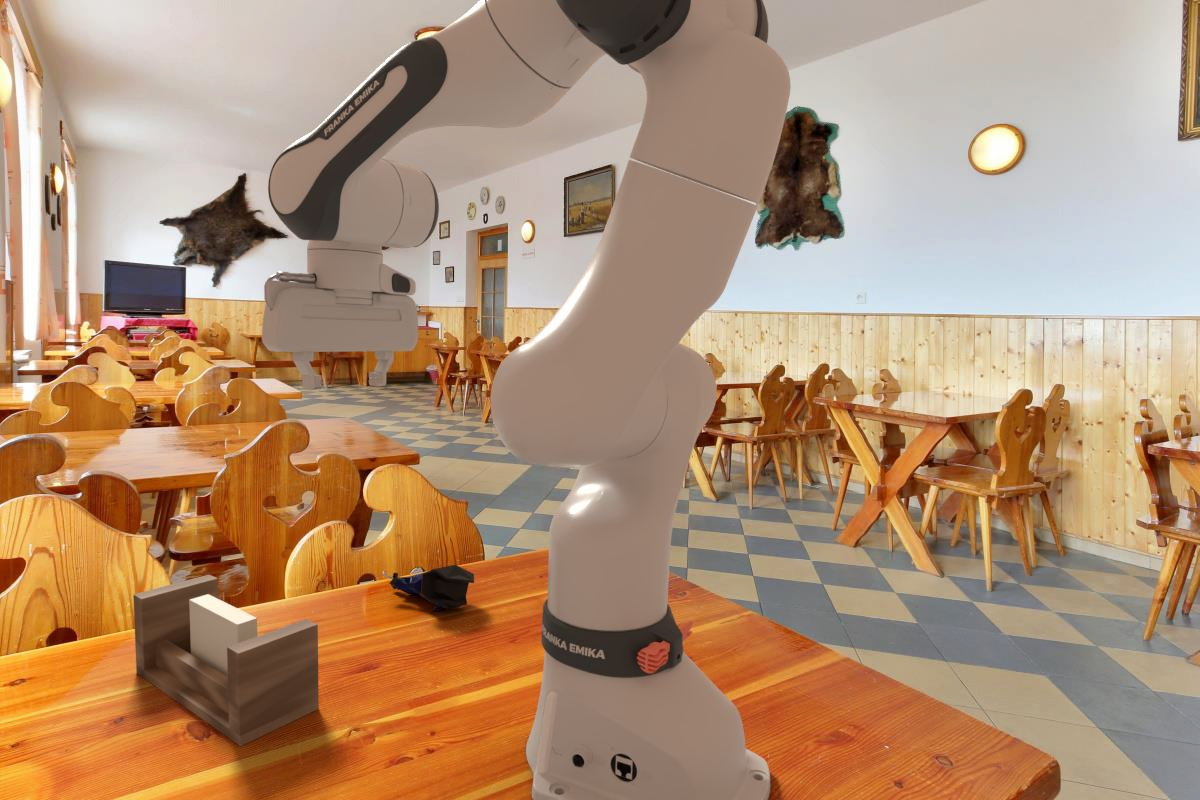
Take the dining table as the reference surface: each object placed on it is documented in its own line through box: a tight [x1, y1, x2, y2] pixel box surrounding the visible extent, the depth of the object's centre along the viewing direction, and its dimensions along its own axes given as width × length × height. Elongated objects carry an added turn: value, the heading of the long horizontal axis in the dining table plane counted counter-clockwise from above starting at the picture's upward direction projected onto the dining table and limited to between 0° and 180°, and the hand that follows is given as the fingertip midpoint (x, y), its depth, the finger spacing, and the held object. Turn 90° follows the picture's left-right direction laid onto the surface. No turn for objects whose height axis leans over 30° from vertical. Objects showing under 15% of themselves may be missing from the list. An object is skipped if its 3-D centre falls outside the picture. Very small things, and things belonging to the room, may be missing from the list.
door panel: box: [189, 594, 258, 677], centre depth 73 cm, size 10×2×8 cm, turn 55°
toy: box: [382, 564, 475, 612], centre depth 98 cm, size 9×6×15 cm
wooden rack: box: [133, 574, 320, 747], centre depth 73 cm, size 22×8×9 cm, turn 55°
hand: (346, 387), depth 87 cm, fingers open, 8 cm apart
